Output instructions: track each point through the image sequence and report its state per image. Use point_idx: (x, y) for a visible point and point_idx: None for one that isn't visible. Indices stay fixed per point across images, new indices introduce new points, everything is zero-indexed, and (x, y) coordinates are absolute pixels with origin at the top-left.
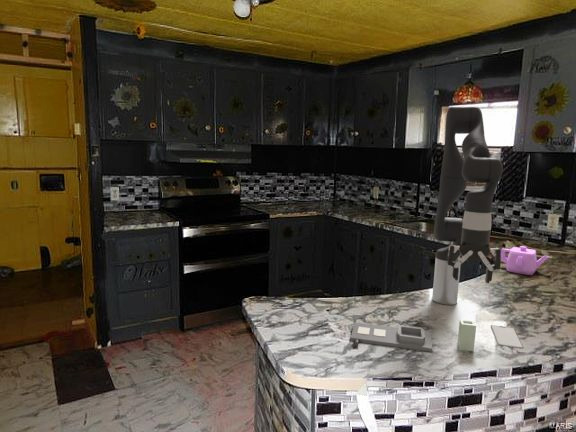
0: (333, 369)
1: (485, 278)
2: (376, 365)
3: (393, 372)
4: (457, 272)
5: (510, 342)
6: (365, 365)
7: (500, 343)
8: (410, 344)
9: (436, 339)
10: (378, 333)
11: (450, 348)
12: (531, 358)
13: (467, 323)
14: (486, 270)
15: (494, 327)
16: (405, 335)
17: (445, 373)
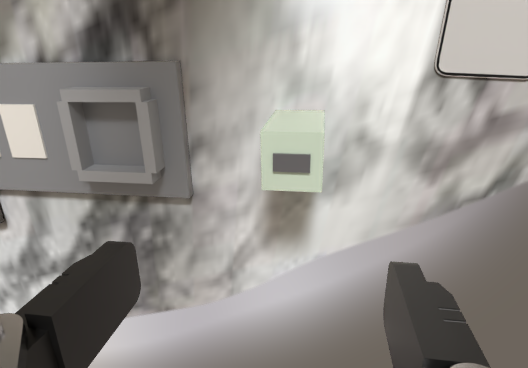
0: None
1: (395, 278)
2: None
3: None
4: (89, 351)
5: (500, 38)
6: None
7: (448, 63)
8: (125, 187)
9: (205, 97)
10: (21, 141)
11: (248, 156)
12: (521, 158)
13: (287, 176)
14: (417, 362)
15: None
16: (95, 174)
17: (225, 297)
